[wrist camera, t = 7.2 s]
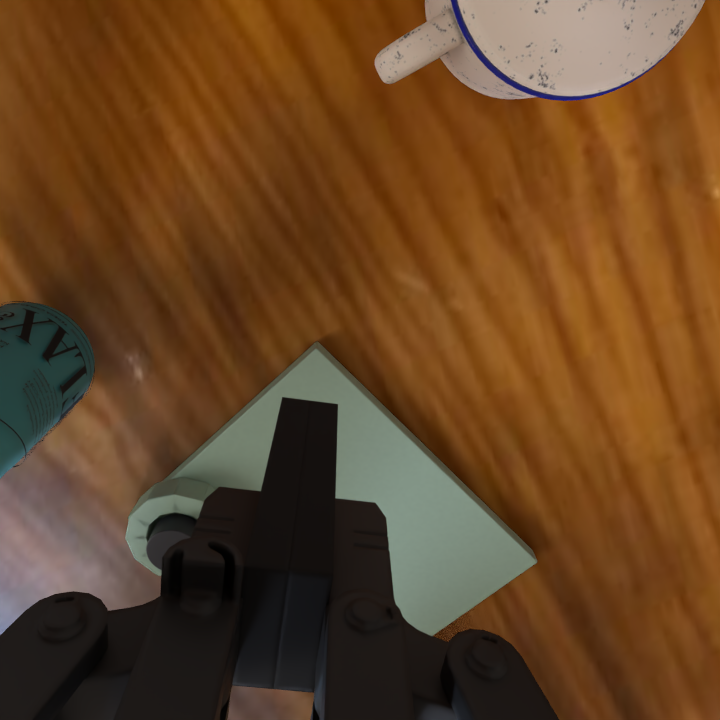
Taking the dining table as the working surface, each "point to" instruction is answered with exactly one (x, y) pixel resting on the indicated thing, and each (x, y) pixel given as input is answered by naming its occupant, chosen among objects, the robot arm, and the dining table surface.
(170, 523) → the button
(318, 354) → the scale
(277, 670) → the robot arm
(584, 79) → the teacup with lid
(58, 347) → the beverage bottle
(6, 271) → the dining table surface
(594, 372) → the dining table surface
